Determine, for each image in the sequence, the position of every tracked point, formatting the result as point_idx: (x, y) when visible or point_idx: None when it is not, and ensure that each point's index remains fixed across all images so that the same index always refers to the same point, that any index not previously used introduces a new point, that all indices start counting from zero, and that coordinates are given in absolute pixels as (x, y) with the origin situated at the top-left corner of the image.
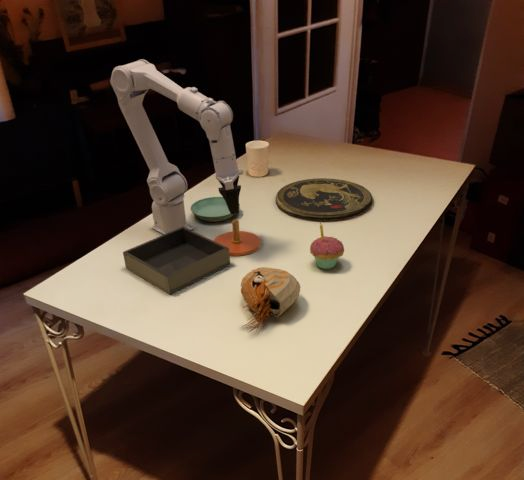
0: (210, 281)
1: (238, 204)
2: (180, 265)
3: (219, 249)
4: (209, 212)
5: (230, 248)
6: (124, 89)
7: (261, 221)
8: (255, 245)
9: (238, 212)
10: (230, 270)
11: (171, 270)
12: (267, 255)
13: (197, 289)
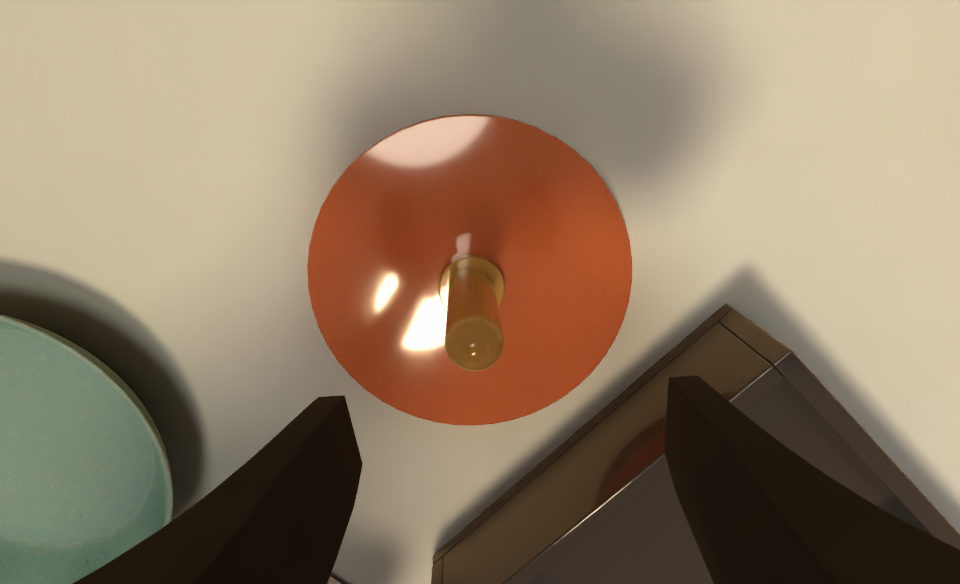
0: (884, 392)
1: (768, 435)
2: None
3: None
4: (26, 480)
5: (564, 318)
6: None
7: (84, 112)
8: (536, 151)
9: (701, 379)
10: (792, 297)
11: None
12: (641, 60)
13: (944, 443)
